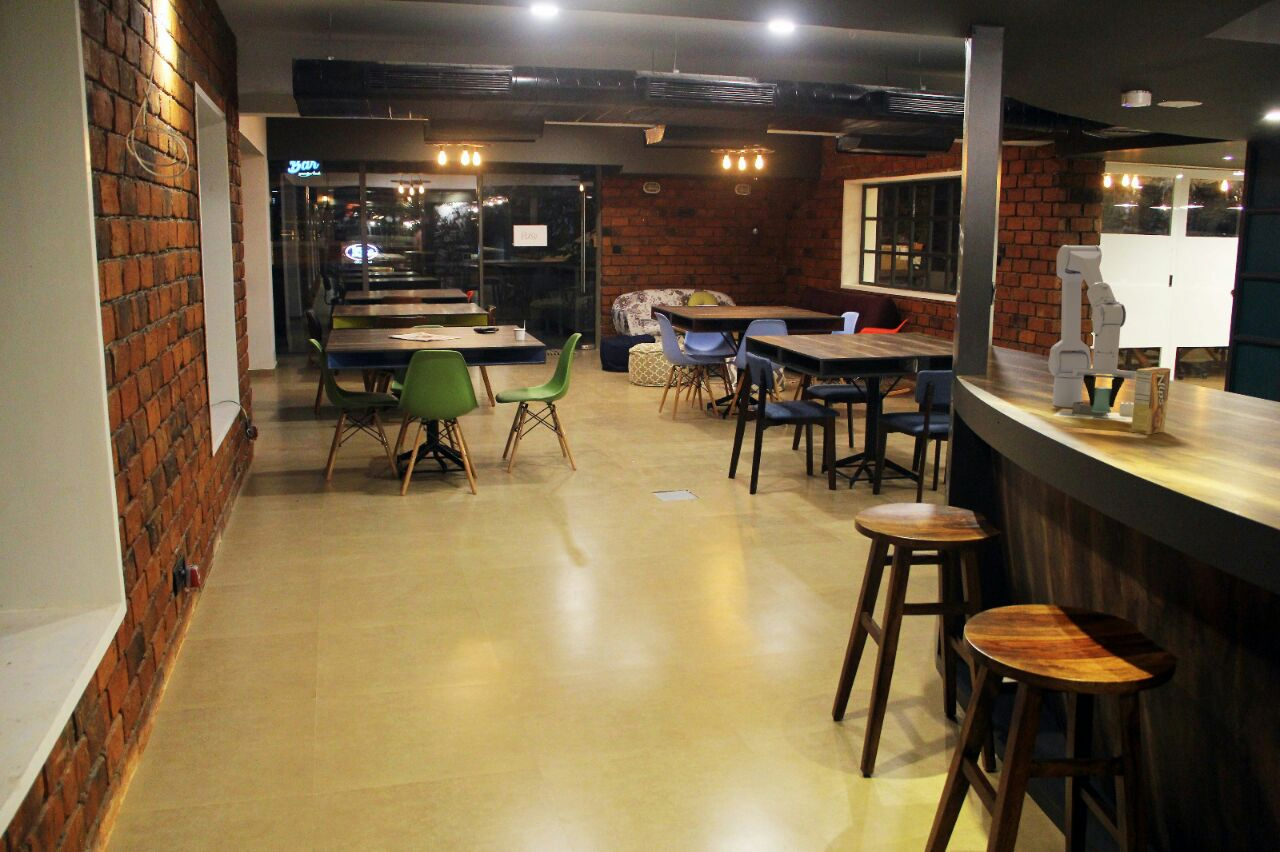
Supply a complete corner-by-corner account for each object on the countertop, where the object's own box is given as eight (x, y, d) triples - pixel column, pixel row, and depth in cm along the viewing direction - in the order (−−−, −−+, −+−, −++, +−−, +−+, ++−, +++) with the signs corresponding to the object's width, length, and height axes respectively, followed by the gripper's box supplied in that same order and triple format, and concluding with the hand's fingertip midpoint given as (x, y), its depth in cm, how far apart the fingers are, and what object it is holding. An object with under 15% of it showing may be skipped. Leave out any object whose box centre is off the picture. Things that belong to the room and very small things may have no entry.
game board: (1061, 412, 288) (1062, 397, 287) (1152, 419, 277) (1153, 403, 277) (1052, 419, 275) (1053, 403, 275) (1146, 427, 264) (1148, 410, 264)
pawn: (1093, 410, 275) (1094, 386, 274) (1111, 411, 273) (1113, 388, 272) (1090, 412, 272) (1092, 388, 271) (1109, 413, 269) (1111, 389, 268)
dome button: (1079, 407, 284) (1080, 399, 283) (1102, 409, 281) (1103, 400, 280) (1076, 410, 279) (1077, 401, 278) (1100, 411, 276) (1100, 403, 276)
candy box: (1148, 429, 261) (1153, 366, 259) (1165, 431, 258) (1171, 368, 255) (1130, 433, 256) (1135, 368, 253) (1148, 435, 252) (1153, 370, 250)
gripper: (1072, 352, 270) (1068, 405, 272) (1135, 355, 263) (1131, 410, 265) (1076, 349, 276) (1073, 402, 278) (1138, 353, 269) (1134, 406, 271)
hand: (1101, 406), depth 272 cm, fingers closed on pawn, 4 cm apart
